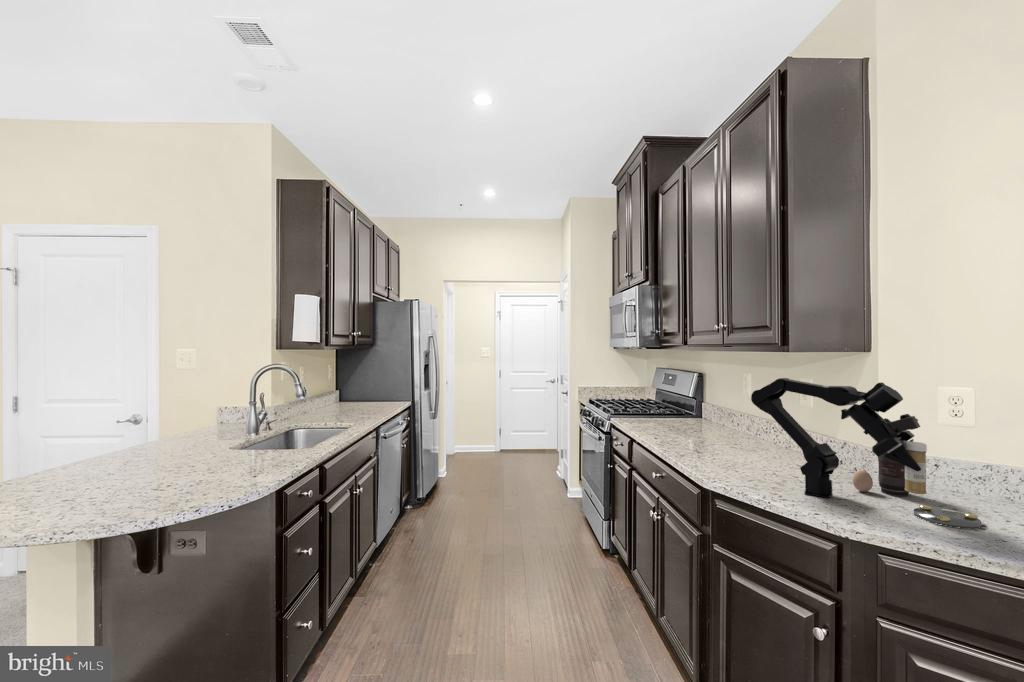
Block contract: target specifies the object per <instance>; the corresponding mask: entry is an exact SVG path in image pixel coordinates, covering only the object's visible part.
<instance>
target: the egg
mask: <svg viewBox="0 0 1024 682" xmlns="http://www.w3.org/2000/svg"><path fill="white" fill-rule="evenodd" d="M852 484H853V487H854V488H856V490H858V491H859V492H862V493H867V492H869V491H871V489H873V486H874V482H873V478H872V476H871V475H870V473H869V472H867V470H862V469H859V470H857V471H856V472H854V474H853V476H852Z"/></svg>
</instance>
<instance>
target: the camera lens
mask: <svg viewBox="0 0 1024 682" xmlns="http://www.w3.org/2000/svg"><path fill="white" fill-rule="evenodd" d="M886 454H888V453H887V452H886V453H884V454H883V455H881V456H879V457H878V456H877V461H878V479H877V480H878V485H879V487H880V491H881V492H882V493H883V494H885V493H886V494H885V495H888V494H889V496H893V495H895V497H908V496H909V495H910V492H907V491H906V490H905V465H902V464H900V463H898V462H896V461H893V460H891V459H889V458H887V457H884V456H885V455H886Z"/></svg>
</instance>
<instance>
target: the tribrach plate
mask: <svg viewBox="0 0 1024 682" xmlns="http://www.w3.org/2000/svg"><path fill="white" fill-rule="evenodd" d="M918 506H919V507H917V508H914V509H913V515H914V516H915V517H916V516H917V517H916V518H918V517H919V518H918V519H920V518H921V519H920V520H922V519H924V520H926V521H925V522H927V521H930V522H929V523H931V522H933V523H932V524H934V523H937V524H936V525H938V524H942V525H941V526H943V525H947V526H946V527H948V526H952V527H951V528H954V527H960V528H959V529H962V528H977V529H980V528H982V526H983V525H982V520H980V519H979V518H978V517H979V516H978V515H977V514H974V513H970V512H969V513H968V512H966V513H963V512H960V511H956V510H952V509H947V508H937V507H931V506H930V505H925V504H919V505H918ZM924 520H923V521H924ZM979 527H980V528H979Z"/></svg>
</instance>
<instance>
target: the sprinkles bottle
mask: <svg viewBox="0 0 1024 682" xmlns="http://www.w3.org/2000/svg"><path fill="white" fill-rule="evenodd" d="M904 443H906V450H907V452H908V453H909V454H910V455H911V457H912V458H913V459H914V460H915V461H916V463H917V464H918V465H919V466H920V468H921V470H920V471H915V470H913V469H911V468H909V467H907V466H905V490H906V491H907V492H909V494H915V495H926V494H927V492H928V491H927V451H928V450H927V446H928V445H927V444H926V443H923V442H919V441H918V442H917V441H913V442H910V440H908V441H907V442H904Z"/></svg>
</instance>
